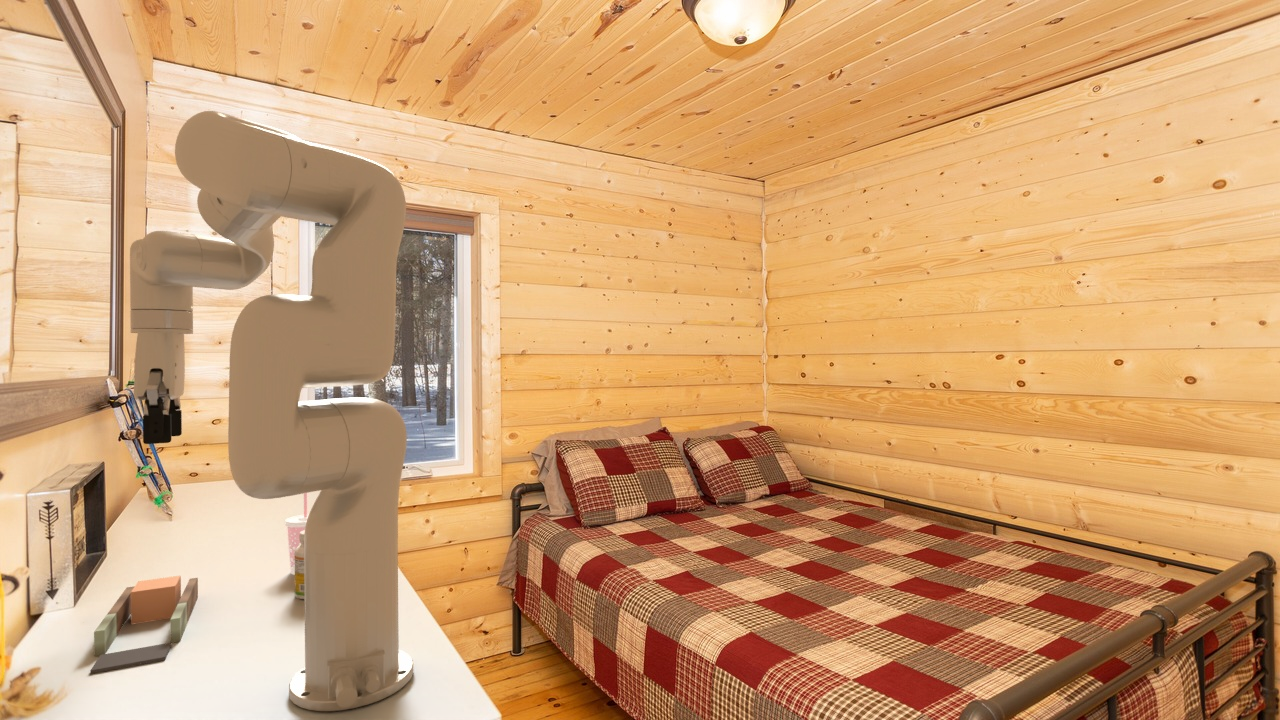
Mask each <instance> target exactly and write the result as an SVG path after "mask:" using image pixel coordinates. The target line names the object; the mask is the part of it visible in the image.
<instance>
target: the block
mask: <svg viewBox="0 0 1280 720" xmlns="http://www.w3.org/2000/svg"><path fill="white" fill-rule="evenodd" d="M134 586H135V587H134ZM134 586H133V587H134V588H133V590H132V591H131V615H130V625H135V624H141V623H147V622H155V621H160V620H166V619H171V617H172V615H173V613H174V611H175V609H176V607H177V605H178V602H179V600H180V598H181V596H182V587H181V586H182V579H181V575H176V576H168V577H159V578H154V579H152V578H151V579H145V580H138V581H137V583H136V584H135V585H134Z"/></svg>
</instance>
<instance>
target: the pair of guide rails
mask: <svg viewBox="0 0 1280 720" xmlns="http://www.w3.org/2000/svg"><path fill="white" fill-rule="evenodd" d="M198 579H199V578H198V577H193V578H189V580H188V581H187V584H186V586H185V588H184V590H183V591H182V593H181V598H180V600H179V602H178V605H177V607H176V609H175V611H174V613H173V615H172V617H171V618H169V620H170V623H169V624H170V643H171V644H172V643H178V642H181V640H182V638H183V636H184V632H185V630H186V628H187V625H188V623H189V620H190V618H191V615H192V613H193V610H194V609H195V605H196V603H197V600H198V597H199V584H198V582H199V581H198ZM134 587H135V585H134V586H127V587H126V588H125V589H124V590H123V592H122V594H120V596H119V597H118V599H117V600H116V601H115V602H114V604H113V605H112V606H111V608H110V609H109V611H108V612H107V614H106V615H105V616H104V618H103V619H102V621H101V622H100V623H99V625H98V626H97V627H96V629H95V630H94V632H93V641H94V642H93V644H94V645H93V646H94V648H93V649H94V652H93V653H94V655H93V656H94V657H100V655H102V654H107V652H108V650H109V649H110V647H111V646H112V644H113V642H114V641H115V639H116V638H117V637H118V635H119V633H120V632H121V630H122V628H123V627H124V625H125V623H126V622H127V621H128V619H129V617H131V591H132V590H133V588H134Z"/></svg>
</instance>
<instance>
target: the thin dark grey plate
mask: <svg viewBox="0 0 1280 720" xmlns="http://www.w3.org/2000/svg"><path fill="white" fill-rule="evenodd" d="M171 648H172V643H171V642H167V643H161V644H156V645H155V644H154V645H149V646H144V647H139V648H132V649H127V650H121V651H120V650H119V651H114V652H108V653H105V654H102V655H99V656H98V658H97V660H96V661H95V663H94V665H93V666H92V667H91V668H90V670H89V671H90V673H89V674H90V675H91V674H97V673H102V672H109V671H114V670H119V669H123V668H124V669H125V668H130V667H135V666H140V665H141V666H142V665H147V664H152V663H156V662H162V661H165V660H166V659H167V657H168V654H169V652H170V649H171Z"/></svg>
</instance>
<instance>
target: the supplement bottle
mask: <svg viewBox="0 0 1280 720" xmlns="http://www.w3.org/2000/svg"><path fill="white" fill-rule="evenodd" d="M304 534H305V530H303V531H301V532H300V536H299V540H300V542H301V545H299V546H298V547H297V548H296V549H295V575H294V595H295V598H297V599H300V600H305V593H304Z"/></svg>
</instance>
